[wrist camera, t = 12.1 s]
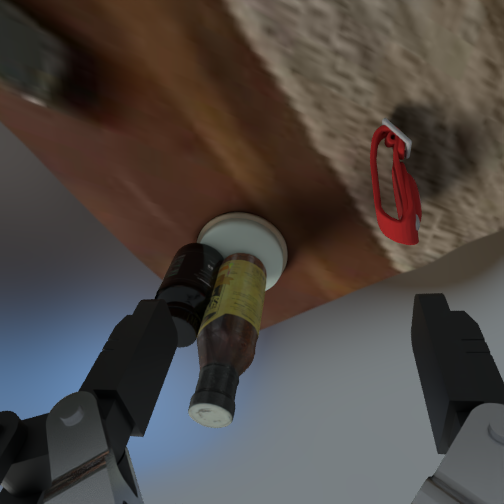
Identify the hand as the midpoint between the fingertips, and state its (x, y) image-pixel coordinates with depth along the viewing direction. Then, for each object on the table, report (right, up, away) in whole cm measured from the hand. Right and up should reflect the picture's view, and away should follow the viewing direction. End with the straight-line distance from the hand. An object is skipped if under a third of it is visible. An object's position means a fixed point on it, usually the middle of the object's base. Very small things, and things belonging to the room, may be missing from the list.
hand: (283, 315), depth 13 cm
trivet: (-2, +2, +39) cm, 39 cm away
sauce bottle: (-2, 0, +37) cm, 37 cm away
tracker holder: (+14, +11, +30) cm, 35 cm away
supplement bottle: (-8, +1, +38) cm, 39 cm away
